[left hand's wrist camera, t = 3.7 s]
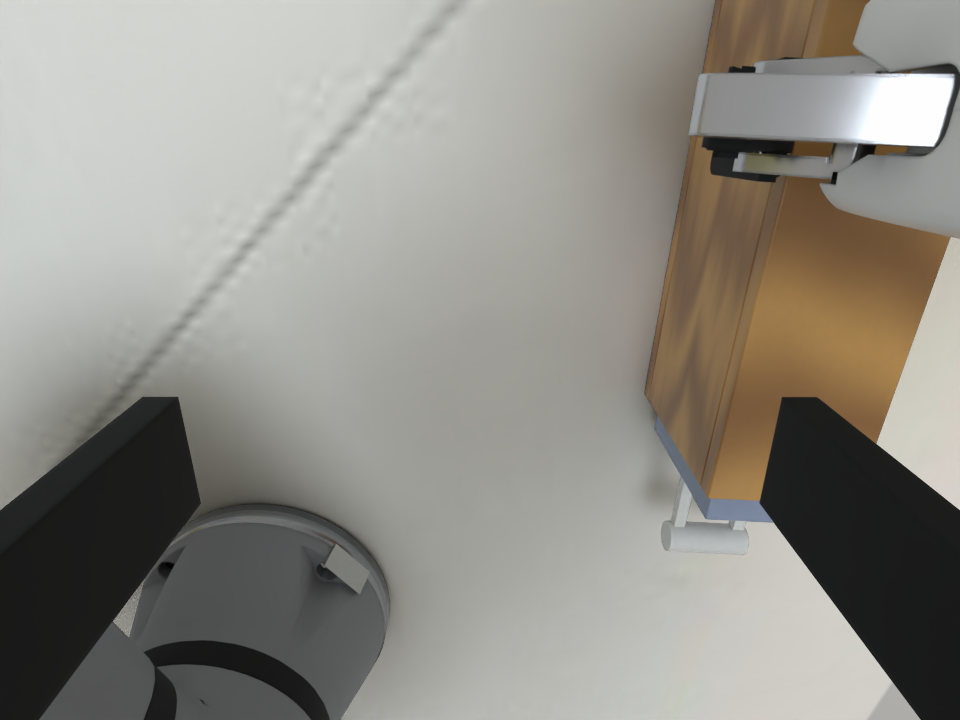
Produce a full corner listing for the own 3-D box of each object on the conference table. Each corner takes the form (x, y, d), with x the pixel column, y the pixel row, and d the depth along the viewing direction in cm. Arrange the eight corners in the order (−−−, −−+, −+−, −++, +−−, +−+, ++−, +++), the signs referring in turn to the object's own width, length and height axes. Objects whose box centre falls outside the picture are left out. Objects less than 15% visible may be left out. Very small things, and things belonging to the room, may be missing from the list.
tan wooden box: (750, 399, 33) (854, 506, 24) (643, 394, 33) (707, 499, 23) (852, 3, 26) (1060, -67, 16) (716, -6, 25) (849, -82, 16)
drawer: (719, 510, 35) (785, 616, 27) (639, 505, 34) (682, 611, 27) (831, 73, 26) (975, 50, 18) (723, 65, 26) (823, 40, 18)
